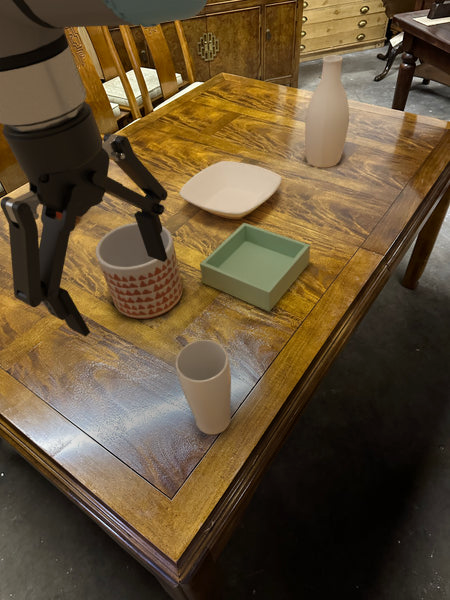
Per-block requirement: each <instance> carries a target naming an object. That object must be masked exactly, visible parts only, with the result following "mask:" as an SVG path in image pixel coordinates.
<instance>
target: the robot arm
mask: <svg viewBox="0 0 450 600" xmlns="http://www.w3.org/2000/svg"><path fill="white" fill-rule="evenodd" d="M207 2H208V0H0V124H2V125H3V128H2V134H3V137H4V139H5V141H6V142H7V144H8V146H9V148H10V150H11V152H12V154H13V155H14V158H15V160H16V162H17V164H18V165H19V167H20V169H21V170H22V172H23V173H24V174H25V177H26V178H27V180H28V186H29V187H28V189H29V191H27V192H25V193H23V194H21V195H19V196H17V197H14V198H13V197H10V196H4V197H2V198H1V200H0V208H1V211H2V213H3V214H4V217H5V219H6V221H7V223H8V233H9V234H8V235H9V245H10V257H11V272H12V283H13V296H14V297H15V298H16V299H17V300H18V301H20V302H22V303H24V304H26V305H28V306H29V307H31V308H37V307H39V306H40V305H41V303H43V305H44V306H45V308H46V309H47V311H48V312H49V314H51V315H52V316H53V317H55V318H57V319H59V320H61V321H64V322H65V323H66V325H67V327H68V328H69V329H70V330H72V331H74V332H76V333H78V334H79V335H80V336H83V337H85V338H86V337H88V335H90V334H91V331H90V329H89V326H88V325H87V323H86V321H85V320H84V318H83V316H82V314H81V312H80V311H79V309H78V307H77V305H76V304H75V302H74V300H73V298H72V297H71V294H70V292H69V291H68V289H65V288H63V287H61V283H62V277H63V272H64V267H65V262H66V257H67V251H68V246H69V241H70V236H71V233H72V232H73V231H74V230H75V228H76V224H77V218H82V217H83V216H85V215H86V214H87V213H88V212H89V211H90V209H92V207H95V206H98V205H99V204H100V203H102V202H103V201H104V199H103V198H104V196H105V194H106V195H109V196H111V197H113V198H116V199H117V200H120V201H122V202H124V203H126V204H128V205H130V206H133V207H135V208H137V209H138V210H137V211H136V212H135V213H134V214H133V216H134V219H135V222H137V224H138V227H139V230H140V233H141V236H142V239H143V242H144V245H145V248H146V251H147V254H148V256H149V257H152V258H154V259H157V260H160V261H162V262H165V261H166V260H167V259H168V258H167V254H166V251H165V248H164V244H163V241H162V237H161V234H160V233H161V232H162V226H163V225H162V221H161V218H160V216H162V215H163V214H164V212H165V205H163V204H161V202H162V201H163V202H164V201H166V200H167V199H168V191H167V190H166V188H164V186H163V185H162V184H161V182H159V180H158V179H157V178H156V177H155V176H154V174H152V173H151V171H150V170H149V169H148V168H147V167H146V166H145V164H144V163H142V161H141V160H140V159H139V158H138V157H137V155H136V154H135V152H134V150H133V147H132V145H131V142H130V140H129V138H128V137H127V136H124V135H119V134H115V133H110V132H106V133H105V134H104V135H103V137H102V134H101V132H100V129H99V126H98V123H97V121H96V117H95V115H94V112H93V109H92V107H91V105H90V104H88V103H87V102H86V100H87V90H86V86H85V84H84V82H83V79H82V76H81V73H80V70H79V67H78V64H77V63H76V60H75V57H74V53H73V51H72V49H71V46H70V43H69V40H68V38H67V34H66V32H65V28H87V27H91V28H92V27H112V26H113V27H114V26H139V25H140V26H142V27H143V28H153V27H155V28H156V27H157V26H158V25H160V24H162V23H167V22H169V23H170V22H177V21H184V20H185V21H186V20H189V19H192V18H194V17H196V16H198V14H200V12H201V11H202V10H203V9H204V8H205V6H206V5H207ZM110 160H111V161H113V162H114V163H115V164H116V166H118V168H119V169H120V170H122V171H123V173H124V174H126V176H127V177H128V179H130V180H131V181H132V182H133V183H134V184H135V185H136V186H137V188H139V189H140V191H142V192H143V194H144V195H142V194H140V193H138V192H137V191H135V190H132V189H131V188H129V187H128V186H125V185H124V184H123V183H121V182H119V181H117V180H115V179H113V178H111V177H109V170H110V169H109V168H110ZM39 205H42V207H41V215H39V213H38V210H37V209H38V206H39ZM56 212H59V213H61V214H62V219H59V218H57V217H56ZM39 218H40V221H41V224H42V229H41V233H40V234H41V235H40V240H39V229H38V224H37V221H36V220H38V219H39Z"/></svg>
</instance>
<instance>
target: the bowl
mask: <svg viewBox="0 0 450 600" xmlns="http://www.w3.org/2000/svg"><path fill="white" fill-rule="evenodd" d="M282 179H283V178H282V176H281V175H280V174H278V173H276V172H274V171H273V170H270V169H268V168H265V167H262V166H258V165H255V164H251V163H250V164H249V163H246V162H240V161H234V160H232V161H231V160H221V161H218V162H216V163H213V164H211V165H209V166H207V167H205V168H203V169H202V170H200V171H199V172H198V173H195V174H194V175H193V176H192V177H191V178H189V179H188V180H187V181H186V182H185V183H184V184H183V185H182V187H181V189H180V190H179V192H178V195H179V196H181V198H182V199H183V200H184V201H187V202H188V203H190V204H192V205H194V206H196V207H197V208H199V209H202V210H204V211H206V212H207V213H210V214H211V215H213V216H216V217H220V218H224V219H227V220H229V219H230V220H240V219H242V218H244V217H246V216H248V215H249V214H250V213H252V212H253V211H255V210H256V209H257V208H258V207H260V206H261V205H262V204H264V203H265V202H266V201H267V200H268V199H269V198H271V197H272V196H273V195H274V193H276V191H277V190H278V188H279V187H280V185H281V183H282Z"/></svg>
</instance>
